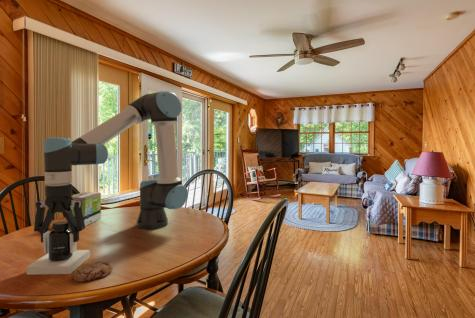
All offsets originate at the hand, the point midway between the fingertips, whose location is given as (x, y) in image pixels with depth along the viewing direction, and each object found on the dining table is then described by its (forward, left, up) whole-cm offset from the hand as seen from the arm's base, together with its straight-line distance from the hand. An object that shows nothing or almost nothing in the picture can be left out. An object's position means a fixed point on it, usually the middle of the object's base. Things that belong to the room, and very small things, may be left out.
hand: (60, 251), depth 91 cm
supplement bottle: (0, 0, -2) cm, 2 cm away
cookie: (-14, +7, -5) cm, 16 cm away
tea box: (+17, -50, -5) cm, 53 cm away
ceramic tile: (0, 0, -5) cm, 5 cm away
